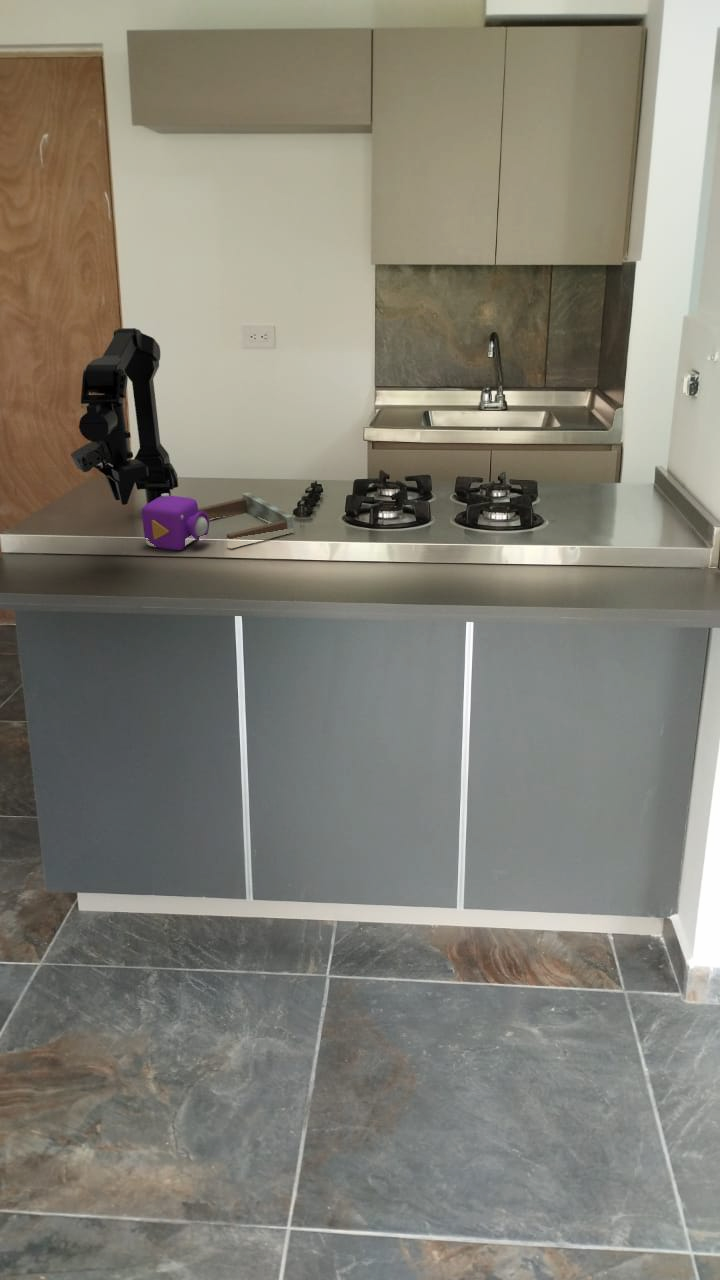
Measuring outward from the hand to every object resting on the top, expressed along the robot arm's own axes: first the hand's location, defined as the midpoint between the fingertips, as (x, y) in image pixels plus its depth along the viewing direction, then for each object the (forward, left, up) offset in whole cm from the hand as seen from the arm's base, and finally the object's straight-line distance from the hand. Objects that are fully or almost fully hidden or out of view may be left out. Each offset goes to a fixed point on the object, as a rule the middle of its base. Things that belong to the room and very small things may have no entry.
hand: (121, 502), depth 221 cm
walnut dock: (0, +27, -12) cm, 30 cm away
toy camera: (0, +12, -12) cm, 17 cm away
